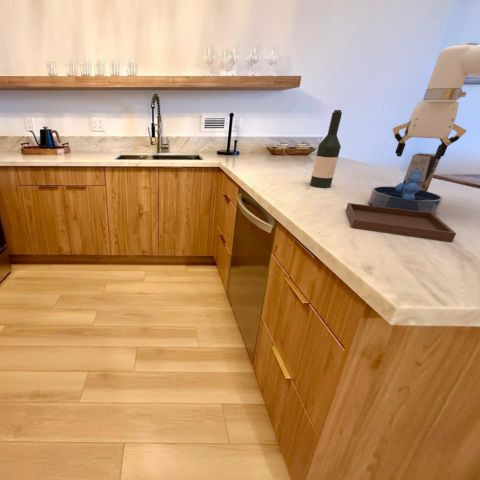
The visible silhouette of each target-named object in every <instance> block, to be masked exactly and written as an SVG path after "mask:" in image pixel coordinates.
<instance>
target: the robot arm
mask: <svg viewBox="0 0 480 480" xmlns="http://www.w3.org/2000/svg"><path fill="white" fill-rule="evenodd" d="M467 77H468V78H472V79H473V78H474V79H475V78H477V79H478V78H480V44H455V45H450V46H447V47H444V48H443V49H442V50H441V51H440V52H439V54H438V57H437V59H436V62H435V65H434V68H433V69H432V73H431V76H430V78H429V81H428V84H427V87H426V89H425V92H424V95H423V98H422V101H417V104H416V105H415V107H414V108H413V111H412V113H411V115H410V117H409V119H408V122H405V123H401V124H399V125H396V126H393V127H392V133H393V137H394V139H395V140H396V141H397V142H398V143H397V146H396V149H395V152H394V153H395V154H396V157H402V155H403V153H404V151H405V147H406V142H407V141H408V140H410V139H411V138H418V139H438V140H439V141H440V143H441V144H439V145H438V147H437V149H436V151H435V153H434V154H435V156H434V158H436V159H440V160H441V159H442V157H444V156H445V154H446V151H447V149H448V146H450V145H452V144H453V143H455V142H457V141H458V140H460V138H461V137H463V136H464V135H465V134H466V133H467V129H465V128H463V127H462V126H460V125H458V124H456V123H455V122H456V118H457V115H458V111H459V105H460V102H459V101H458V100H459V99H460V98H465V97H466V96H467V91H463V89H462V88H463V86H464V84H465V82H466V79H467ZM401 130H404V135H401V134H400V131H401ZM452 131H454V132H456V133H455V134H454V135H453V136H450V134H451V133H452ZM449 136H450V137H449Z"/></svg>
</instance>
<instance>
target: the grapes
mask: <svg viewBox="0 0 480 480" xmlns="http://www.w3.org/2000/svg"><path fill="white" fill-rule="evenodd" d="M421 176H423V174H422V172H421V171H420V170H415V171H413V172H411V173H410V176H409V179H408V180H407V181H406V182H405V184H404V183H403V182H400V183H398V184H396V185H395V186H394V187H395V189H396V191H397V192H402V194H401V196H402V198H404V199H411V200H414V199H415V197H414V196H415V195H414V194H416V193H417V192H419V191H420V188H419V186H418V183H419V181H420V180H422V178H421Z"/></svg>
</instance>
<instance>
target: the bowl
mask: <svg viewBox="0 0 480 480" xmlns="http://www.w3.org/2000/svg"><path fill="white" fill-rule="evenodd" d="M401 194H402V192H397V191H396V189H395V186H392V185H391V186H389V185H387V186H385V185H384V186H375V187H373V188H372V189H371V191H370V195H369V198H368V203H369V205H371V206H379V207H388V208H397V209H406V210H414V211H423V212H432V213H433V214H435V215H436V214H437V213H438V211H439V209H440V207H441V204H442V202H443V200H444V198H443V196H441V195H440V194H437V193H434V192H432V191H431V192H430V191H428V190H427V191H423V190H420V191H419V192H417V193H416V194H414V195H415V196H414V197H415V199H414V200H411V199H404V198H402V196H401Z"/></svg>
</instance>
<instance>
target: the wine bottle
mask: <svg viewBox="0 0 480 480" xmlns="http://www.w3.org/2000/svg"><path fill="white" fill-rule="evenodd" d="M342 115H343V112H342V109H334V110H333V111H332V113H331V117H330V121H329V126H328V131H327V135H326V136H325V137H324V138H323V139H322V140H321V141H320V143H319V144H318V146H317V150H316V151H317V152H316V155H315V160H314V165H313V169H312V174H311V178H310V181H309V185H310V186H309V187H314V188H319V189H328V188H331V187H332V183H333V179H334V175H335V171H336V168H337V163H338V159H339V155H340V151H341V149H342V146H341V142H340V140H339V138H338V132H339V127H340V125H341V120H342Z"/></svg>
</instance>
